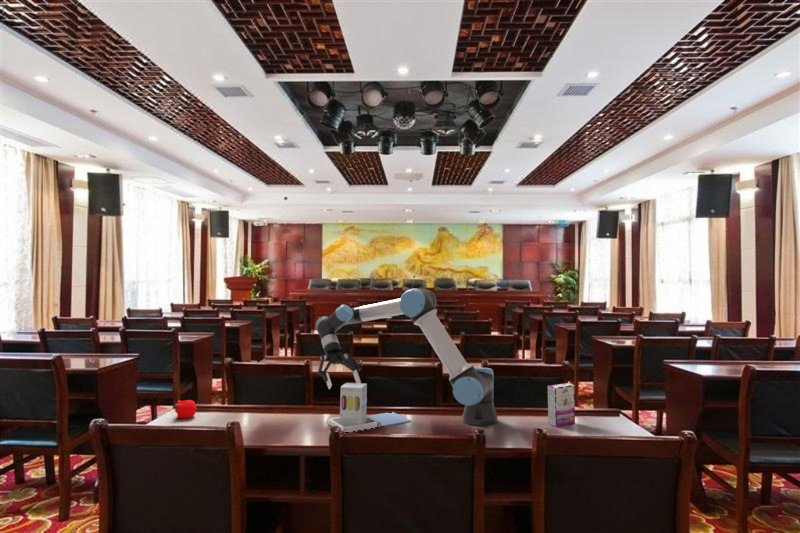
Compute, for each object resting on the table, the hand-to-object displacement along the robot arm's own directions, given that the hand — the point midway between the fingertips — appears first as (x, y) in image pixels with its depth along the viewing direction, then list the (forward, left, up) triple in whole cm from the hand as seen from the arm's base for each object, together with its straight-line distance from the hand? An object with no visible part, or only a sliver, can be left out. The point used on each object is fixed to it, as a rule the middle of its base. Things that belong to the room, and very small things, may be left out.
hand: (345, 385), depth 206 cm
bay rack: (-7, -9, -15) cm, 19 cm away
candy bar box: (-50, -78, -15) cm, 94 cm away
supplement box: (-7, -1, -15) cm, 17 cm away
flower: (+41, +57, -16) cm, 72 cm away
